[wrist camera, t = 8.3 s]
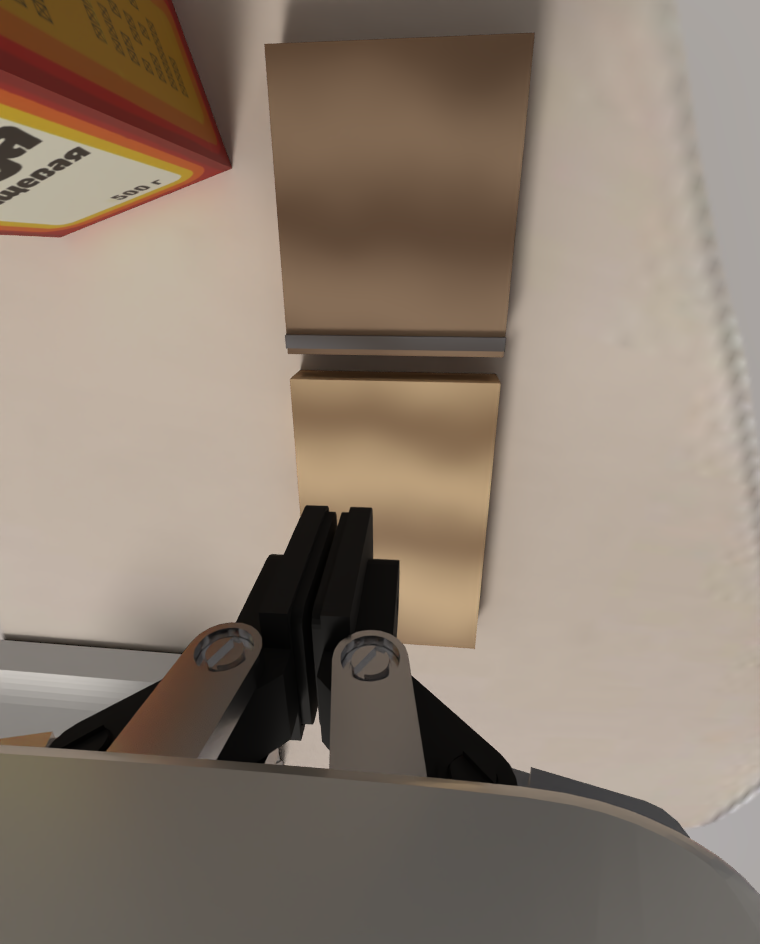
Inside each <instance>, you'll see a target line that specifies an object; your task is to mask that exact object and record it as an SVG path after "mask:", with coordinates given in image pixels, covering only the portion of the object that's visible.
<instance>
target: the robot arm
mask: <svg viewBox="0 0 760 944" xmlns="http://www.w3.org/2000/svg"><path fill="white" fill-rule="evenodd" d="M399 580H400V561H399V560H389V559H373V509H372V507H350V510H349V512H342V513H341V516H340V519H339V523H338V526H337V514H336V512H329V507H328V506H317V505H306V506H305V508H304V510H303V512H302V514H301V517H300V519H299V521H298V524H297V526H296V528H295V530H294V533H293V535H292V537H291V539H290V542H289V544H288V546H287V548H286V551H285V553H284V555H277V554H271V555H269V557H268V558H267V560H266V562H265V564H264V566H263V568H262V570H261V572H260V574H259V576H258V578H257V580H256V582H255V584H254V586H253V588H252V590H251V592H250V594H249V597H248V599H247V601H246V603H245V605H244V607H243V609H242V611H241V613H240V615H239V617H238V619H237V621H236V623H233V622H231V623H225V624H219V625H217V626H214V627H211V628H209V629H207V630H206V631H204V632H202V633H201V634H199V635H198V636H197V637H196V638H195V639H194V640H193V641H192V642H191V643H190V644H189V646H188V647H187V648H186V650H185V651H184V652H183V653H182V655H181V656H180V657H179V658H178V660H177V661H176V662H175V664H174V665H173V666H172V667H171V669H170V670H169V671H168V673H167V674H166V675H165V676H164V678H163V679H162V680H160V681H158V682H156V683H154V684H152V685H150V686H148V687H146V688H144V689H142V690H140V691H138V692H136V693H135V694H133V695H131V696H129V697H127V698H125V699H123V700H121V701H119V702H117V703H115V704H113V705H111V706H109V707H107V708H105V709H104V710H102V711H100V712H98V713H96V714H94V715H92V716H90V717H88V718H86V719H84V720H82V721H80V722H78V723H77V724H75V725H74V726H72V727H70V728H69V729H67V730H66V731H64V732H63V733H62V734H61V735H60V736H59V737H56V738H55V736H54V733H53V731H52V732H45V733H37V734H30V735H23V736H15V737H8V738H1V739H0V944H760V894H759V893H758V892H757V891H756V890H755V889H754V888H753V887H752V886H751V885H750V884H749V882H747V880H746V879H745V878H744V877H743V876H742V875H740V874H739V873H738V872H737V871H736V870H735V869H734V868H733V867H731V866H730V865H729V864H728V863H726V862H725V861H724V860H722V859H721V858H720V857H719V856H717V855H716V854H714V853H712V852H711V851H709V850H708V849H706V848H705V847H703V846H702V845H700V844H698V843H697V842H695V841H693V840H691V839H690V837H689V836H688V835H687V833H686V832H685V831H684V829H683V828H682V827H681V825H680V824H679V823H678V821H676V820H675V819H674V818H673V817H671V816H670V815H669V814H668V813H667V812H665V811H664V810H663V809H661V808H659V807H657V806H655V805H653V804H651V803H648V802H646V801H643V800H640V799H637V798H633V797H630V796H627V795H623V794H620V793H616V792H613V791H610V790H606V789H603V788H600V787H596V786H593V785H589V784H586V783H583V782H579V781H576V780H573V779H569V778H566V777H562V776H559V775H556V774H552V773H549V772H546V771H542V770H539V769H535V768H532V767H531V770H530V773H526V772H523V771H520V770H516V769H513V768H511V766H510V764H509V763H508V762H507V761H506V760H505V759H504V757H503V756H502V755H501V754H500V753H499V752H498V751H497V750H495V749H494V748H493V747H492V746H491V745H490V744H489V743H488V742H486V741H485V740H484V739H483V738H482V737H481V736H480V735H478V734H477V733H476V732H475V731H474V730H473V729H472V728H471V727H469V726H468V725H467V724H466V723H465V722H464V721H463V720H461V719H460V718H459V717H458V716H457V715H456V714H455V713H454V712H452V711H451V710H450V709H449V708H448V707H447V706H446V705H444V704H443V703H442V702H441V701H440V700H439V699H438V698H437V697H435V696H434V695H433V694H432V693H431V692H430V691H429V690H427V689H426V688H425V687H424V686H423V685H422V684H421V683H420V682H418V681H417V680H416V679H415V678H414V677H413V676H412V675H411V670H410V664H409V657H408V653H407V651H406V648H405V646H404V645H403V644H402V642H401V641H400V640H399V639H398V638H397V627H398V611H399ZM317 708H318V710H319V722H320V725H321V735H322V742H323V743H324V744H325V745H326V747H327V748H328V749H329V750H330V759H329V769H324V768H312V767H300V766H287V765H275V763H276V760H277V756H278V751H277V748H279V747H280V746H281V745H283V744H284V743H286V742H287V741H289V740H299V741H301V739H302V735H303V731H304V727H305V724H313V723H314V720H315V717H316V712H317Z"/></svg>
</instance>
